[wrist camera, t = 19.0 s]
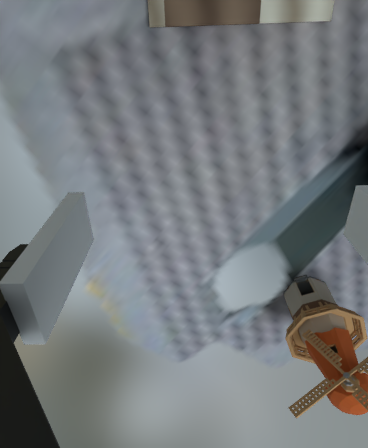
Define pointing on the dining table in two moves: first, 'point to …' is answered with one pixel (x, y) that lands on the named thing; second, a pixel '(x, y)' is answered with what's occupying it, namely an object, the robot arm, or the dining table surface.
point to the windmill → (327, 345)
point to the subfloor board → (236, 12)
